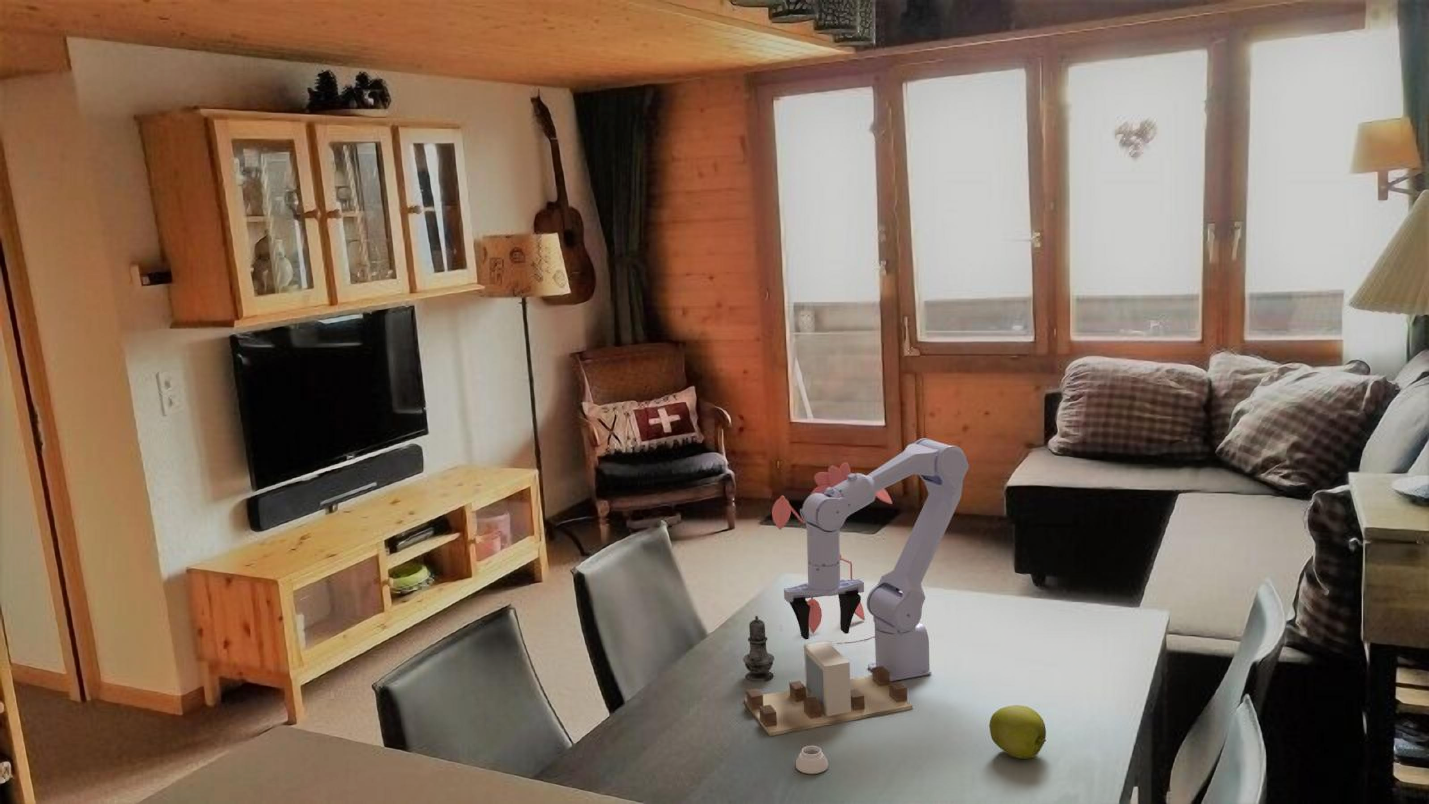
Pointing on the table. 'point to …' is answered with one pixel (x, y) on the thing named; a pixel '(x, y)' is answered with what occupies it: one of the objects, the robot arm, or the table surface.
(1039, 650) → the table surface
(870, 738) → the table surface
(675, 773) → the table surface
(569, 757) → the table surface
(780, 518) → the pink flower cutout
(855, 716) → the notch rack
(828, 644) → the tall beige pillar block
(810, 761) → the lidless jar
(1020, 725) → the apple
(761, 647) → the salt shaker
